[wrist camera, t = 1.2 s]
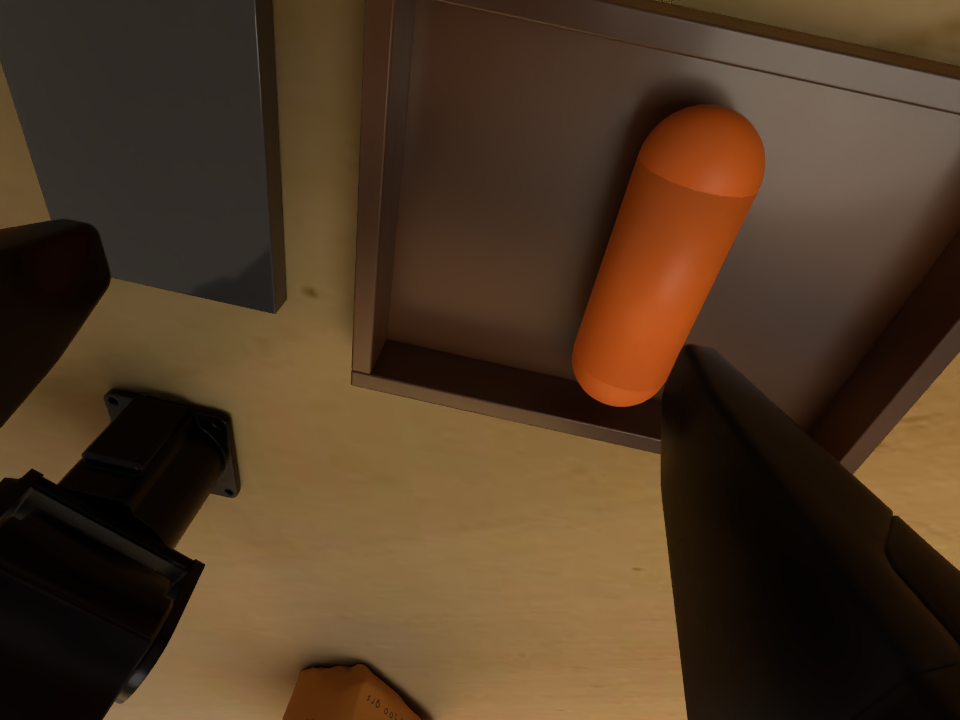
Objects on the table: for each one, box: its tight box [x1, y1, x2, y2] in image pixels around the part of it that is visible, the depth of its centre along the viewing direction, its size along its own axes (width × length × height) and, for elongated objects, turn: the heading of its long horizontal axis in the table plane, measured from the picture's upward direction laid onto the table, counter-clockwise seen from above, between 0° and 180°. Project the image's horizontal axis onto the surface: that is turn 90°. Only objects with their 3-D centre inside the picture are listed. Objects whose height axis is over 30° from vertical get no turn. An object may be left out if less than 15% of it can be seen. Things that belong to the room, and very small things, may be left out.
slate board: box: [0, 0, 287, 314], centre depth 20 cm, size 14×9×1 cm, turn 171°
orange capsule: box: [572, 104, 766, 407], centre depth 19 cm, size 11×4×4 cm, turn 171°
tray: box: [351, 0, 960, 475], centre depth 20 cm, size 15×20×3 cm
